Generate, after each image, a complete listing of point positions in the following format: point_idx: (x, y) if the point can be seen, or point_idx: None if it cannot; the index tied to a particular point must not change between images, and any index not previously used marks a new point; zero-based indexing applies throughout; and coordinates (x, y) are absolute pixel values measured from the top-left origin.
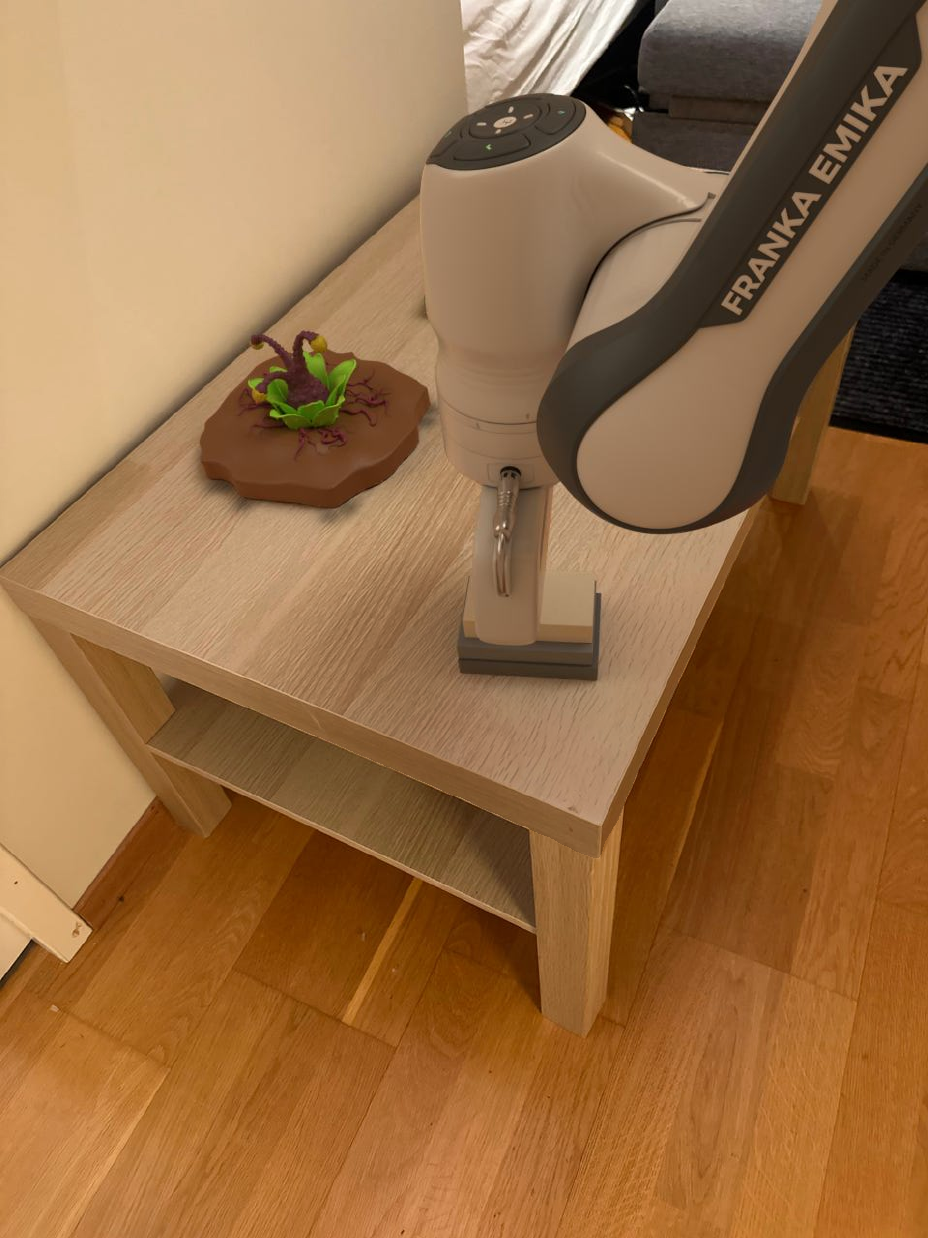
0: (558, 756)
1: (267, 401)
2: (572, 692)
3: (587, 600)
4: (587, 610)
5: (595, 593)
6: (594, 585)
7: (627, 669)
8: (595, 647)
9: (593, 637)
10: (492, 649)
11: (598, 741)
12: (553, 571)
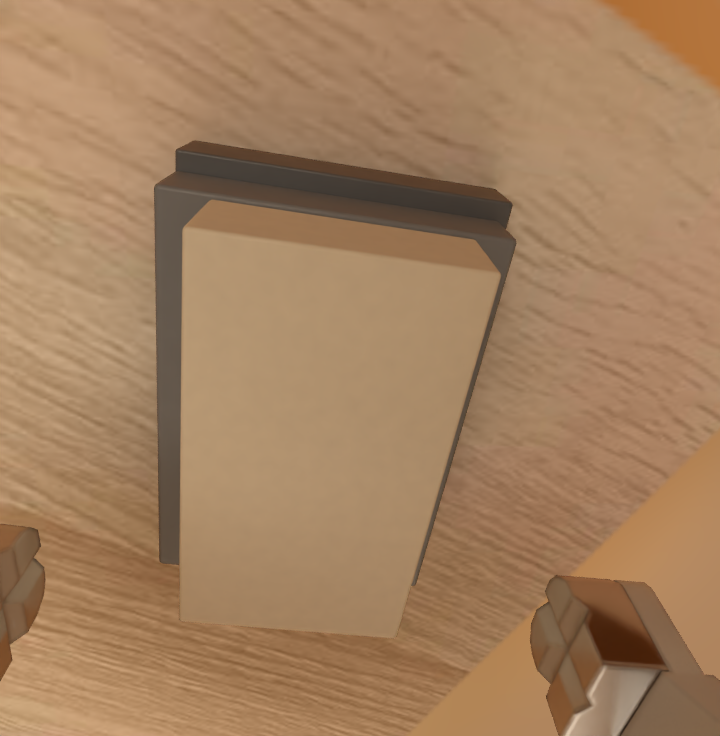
0: (703, 318)
1: None
2: (520, 265)
3: (358, 280)
4: (412, 284)
5: (228, 196)
6: (267, 238)
7: (471, 80)
8: (425, 201)
9: (447, 229)
10: (436, 512)
11: (699, 210)
12: (188, 396)
